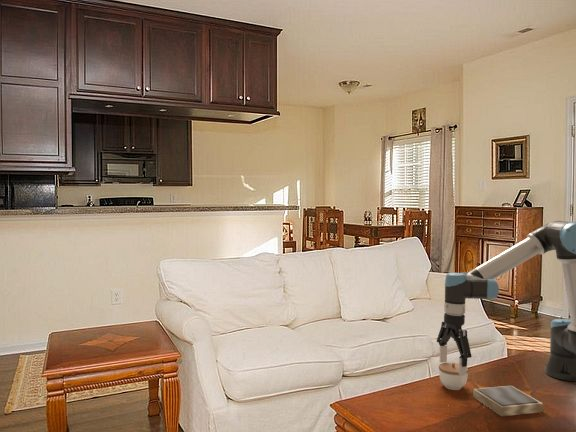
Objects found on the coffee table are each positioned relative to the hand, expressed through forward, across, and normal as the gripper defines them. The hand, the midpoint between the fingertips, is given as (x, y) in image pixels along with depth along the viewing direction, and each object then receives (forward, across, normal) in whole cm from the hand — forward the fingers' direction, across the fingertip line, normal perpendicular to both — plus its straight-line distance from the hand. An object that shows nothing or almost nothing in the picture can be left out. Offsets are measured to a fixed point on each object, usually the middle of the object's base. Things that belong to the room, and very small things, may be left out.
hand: (452, 368), depth 186 cm
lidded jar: (+8, 0, 0) cm, 8 cm away
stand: (+7, +18, +10) cm, 22 cm away
